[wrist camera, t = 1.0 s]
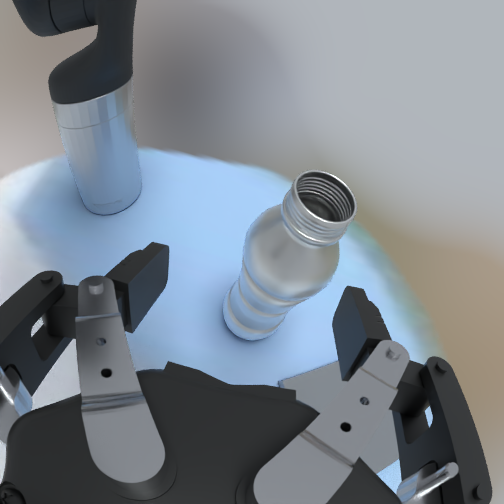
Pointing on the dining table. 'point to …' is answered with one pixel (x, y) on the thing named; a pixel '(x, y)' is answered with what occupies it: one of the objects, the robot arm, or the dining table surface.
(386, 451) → the slate tile
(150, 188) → the dining table surface
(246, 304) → the plastic bottle
